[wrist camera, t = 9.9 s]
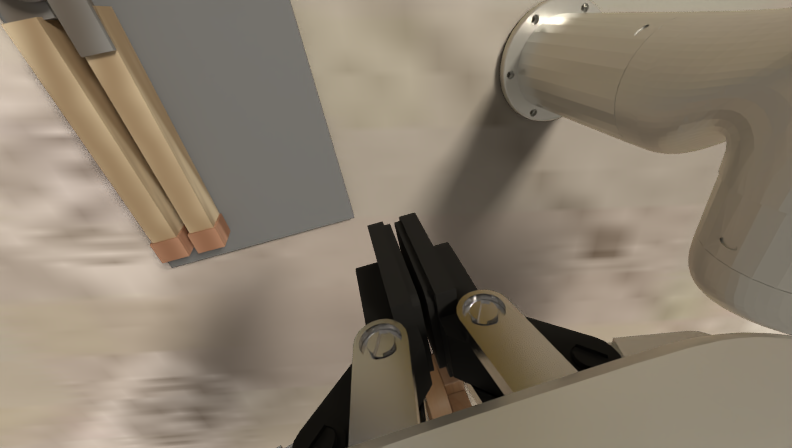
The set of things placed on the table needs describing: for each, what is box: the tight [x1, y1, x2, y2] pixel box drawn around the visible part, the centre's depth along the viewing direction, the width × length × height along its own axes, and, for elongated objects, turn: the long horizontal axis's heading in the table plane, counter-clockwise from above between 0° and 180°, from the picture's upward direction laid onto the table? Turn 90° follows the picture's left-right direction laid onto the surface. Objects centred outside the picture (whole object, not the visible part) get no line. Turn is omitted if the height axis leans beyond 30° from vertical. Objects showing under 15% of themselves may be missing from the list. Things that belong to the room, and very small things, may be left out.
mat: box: [0, 0, 354, 268], centre depth 34 cm, size 22×32×1 cm
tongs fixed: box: [0, 0, 194, 263], centre depth 32 cm, size 5×27×4 cm, turn 11°
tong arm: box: [17, 0, 230, 254], centre depth 31 cm, size 6×27×4 cm, turn 10°
